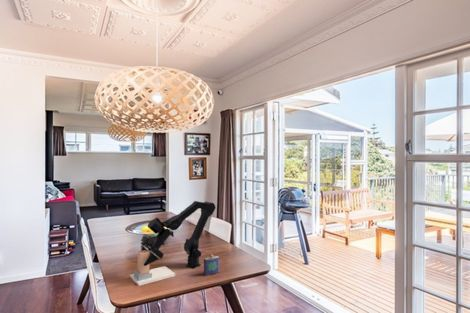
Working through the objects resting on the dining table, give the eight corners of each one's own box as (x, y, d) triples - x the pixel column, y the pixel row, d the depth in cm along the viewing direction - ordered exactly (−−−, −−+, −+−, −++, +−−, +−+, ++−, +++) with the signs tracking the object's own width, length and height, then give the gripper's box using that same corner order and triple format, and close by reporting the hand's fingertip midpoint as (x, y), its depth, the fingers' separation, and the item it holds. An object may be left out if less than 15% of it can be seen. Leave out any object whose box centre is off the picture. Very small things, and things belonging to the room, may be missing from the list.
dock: (164, 268, 169) (165, 260, 169) (175, 275, 159) (175, 268, 159) (130, 276, 157) (130, 269, 157) (138, 285, 147) (138, 277, 147)
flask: (217, 271, 166) (218, 252, 166) (220, 273, 164) (220, 253, 163) (203, 274, 161) (203, 255, 161) (205, 276, 159) (205, 256, 159)
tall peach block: (146, 273, 158) (146, 249, 158) (149, 276, 155) (149, 251, 155) (137, 275, 155) (137, 251, 155) (139, 278, 152) (140, 253, 152)
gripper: (144, 226, 164) (124, 249, 158) (157, 233, 150) (136, 259, 143) (157, 237, 169) (138, 260, 163) (172, 246, 155) (151, 271, 148)
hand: (140, 262), depth 154 cm, fingers open, 9 cm apart
